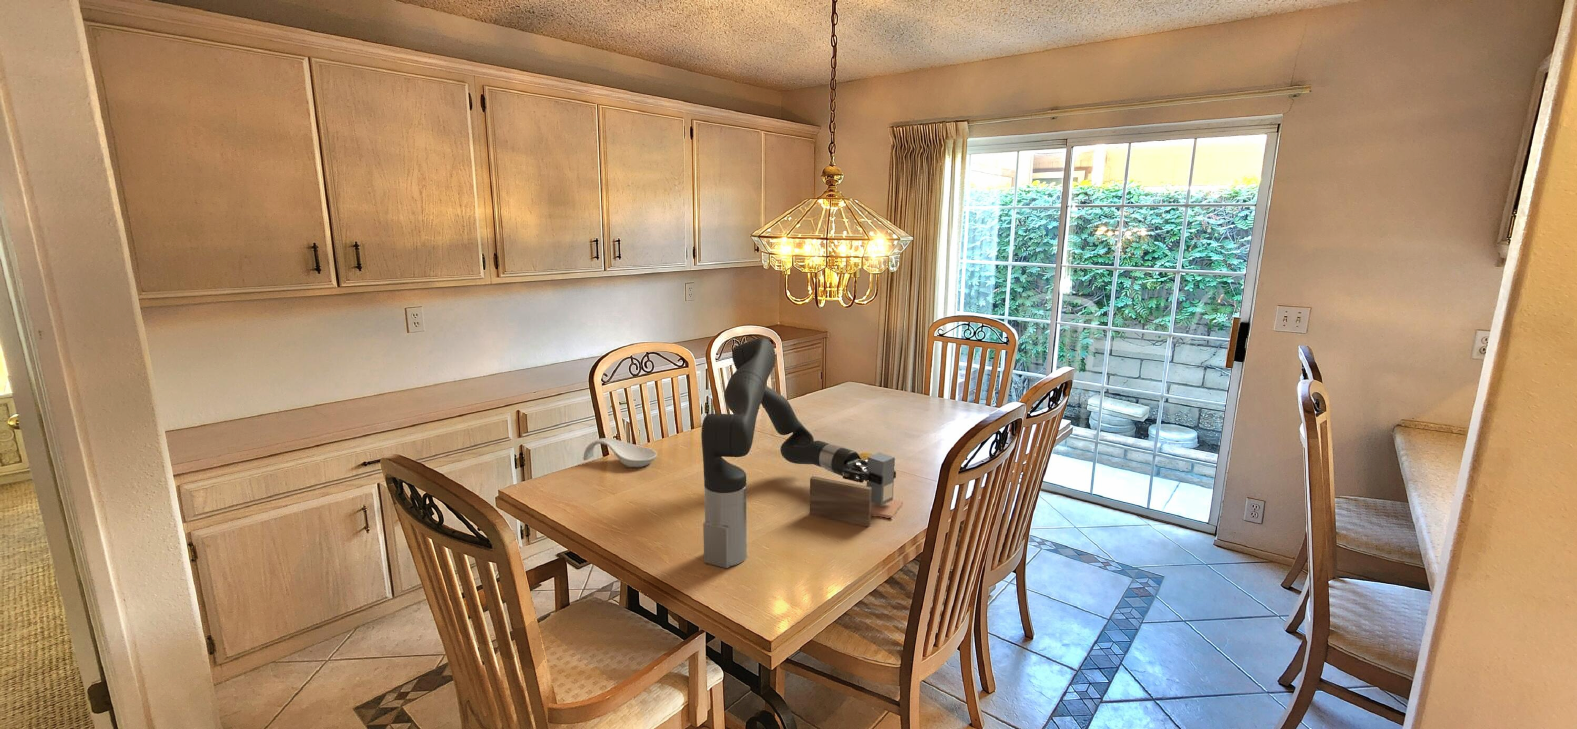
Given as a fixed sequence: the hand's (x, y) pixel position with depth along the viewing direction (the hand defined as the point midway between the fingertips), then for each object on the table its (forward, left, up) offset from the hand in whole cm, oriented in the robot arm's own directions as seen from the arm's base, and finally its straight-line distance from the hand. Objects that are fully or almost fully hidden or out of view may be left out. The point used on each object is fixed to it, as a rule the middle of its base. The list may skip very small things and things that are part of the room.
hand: (888, 477), depth 167 cm
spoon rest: (-3, +86, -10) cm, 86 cm away
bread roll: (+29, +15, -10) cm, 34 cm away
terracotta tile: (+1, +2, -9) cm, 10 cm away
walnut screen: (-10, +9, -9) cm, 17 cm away
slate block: (+1, +2, -7) cm, 7 cm away
